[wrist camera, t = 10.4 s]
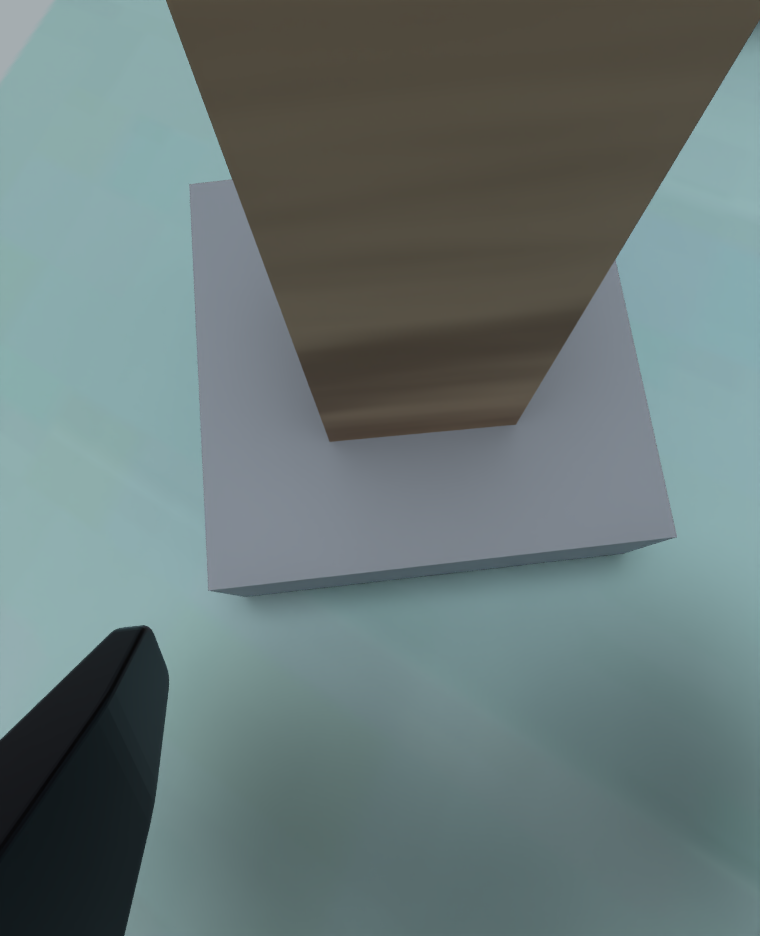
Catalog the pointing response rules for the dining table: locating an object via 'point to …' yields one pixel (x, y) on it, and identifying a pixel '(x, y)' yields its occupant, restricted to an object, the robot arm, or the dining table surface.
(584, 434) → the grey base block
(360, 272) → the walnut pillar
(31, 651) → the dining table surface
